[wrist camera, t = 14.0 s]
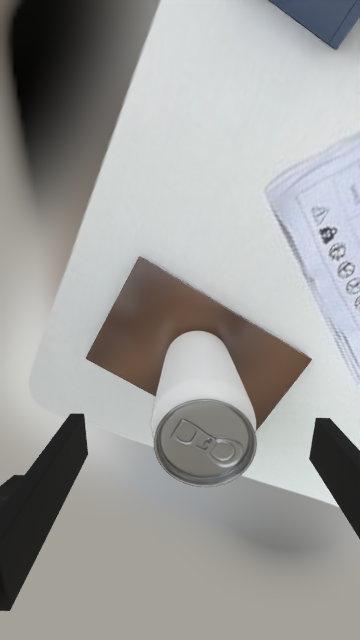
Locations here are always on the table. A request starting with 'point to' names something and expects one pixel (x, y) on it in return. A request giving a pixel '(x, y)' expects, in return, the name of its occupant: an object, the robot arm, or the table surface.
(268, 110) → the table surface
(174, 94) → the table surface
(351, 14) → the holder
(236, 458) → the can
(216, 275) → the table surface
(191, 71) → the table surface
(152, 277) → the board
